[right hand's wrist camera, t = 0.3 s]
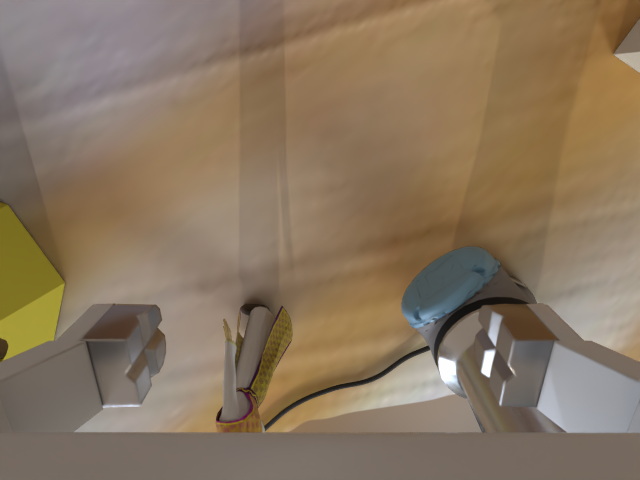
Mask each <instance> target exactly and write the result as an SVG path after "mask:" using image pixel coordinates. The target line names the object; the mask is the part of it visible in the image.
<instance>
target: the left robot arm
mask: <svg viewBox="0 0 640 480" xmlns="http://www.w3.org/2000/svg"><path fill="white" fill-rule="evenodd" d="M511 304H537V302H536V300H535V297H534V296H533V294H532V293H531V291H530V290H529V288H528V287H527V286H526V285H525V284H523V283H522V282H520V281H519V280H518V279H516V278H514V277H512V276H510V275H508V274H507V273H506V272H505V271H504V270H503V268H502V267H501V266H500V262H499V260H497V259H495V258H493V257H492V256H491V254H490V253H489V252H488V251H486V250H485V249H483V248H481V247H476V246H468V247H462V248H459V249H457V250H453V251H451V252H448V253H446V254H445V255H443V256H441V257H439V258H438V259H436V260H435V261H433V262H432V263H431V264H429V265H428V266H427V267H426V268H424V269H423V270H422V271H421V272H420V273H419V274H418V275H417V276H416V277H415V278H414V280H413V281H412V283H411V284H410V285H409V286H408V288H407V290H406V291H405V293H404V296H403V299H402V304H401V308H402V312H403V315H404V316H405V317H406V319H407V320H408V321H409V325H410V326H411V327H413V328H416V329H417V330H418V331H419V332H420V334H421V335H422V336H423V337H424V339H425V340H426V342H427V343H428V346H426V347H424V348H421V349H418V350H416V351H414V352H411V353H409V354H407V355H405V356H404V357H402V358H400V359H399V360H398V361H396V362H395V363H393V364H392V365H391V366H389V367H388V368H387V369H385V370H384V371H382V372H381V373H379V374H377V375H375V376H373V377H370V378H368V379H364V380H361V381H356V382H351V383H345V384H340V385H336V386H333V387H330V388H327V389H324V390H321V391H318V392H316V393H313V394H311V395H308V396H306V397H304V398H302V399H300V400H298V401H296V402H295V403H293V404H291V405H290V406H288V407H287V408H285V409H284V410H283V411H281V412H280V413H279V414H278V415H276V416H275V417H274V418H273V419H272V420H271V421H270V422H269V423H268V424H266V425H265V426H264V428H265V431H266V430H267V429H268V428H269V427H270V426H271V425H273V424H274V423H275V422H276V421H277V420H278V419H279V418H280V417H282V416H283V415H284V414H285V413H287V412H288V411H290V410H291V409H293V408H294V407H296V406H298V405H300V404H302V403H304V402H306V401H308V400H310V399H312V398H315V397H317V396H320V395H323V394H326V393H329V392H332V391H335V390H339V389H343V388H348V387H354V386H359V385H363V384H367V383H370V382H372V381H375V380H377V379H379V378H381V377H383V376H384V375H386V374H387V373H389V372H390V371H392V370H393V369H394V368H396V367H397V366H398V365H400V364H401V363H403V362H404V361H406V360H408V359H410V358H411V357H414V356H416V355H418V354H421V353H424V352H426V351H429V350H431V352H432V355H433V358H434V360H435V363H436V365H437V367H438V370H439V373H440V375H441V378H442V379H443V381H444V383H445V384H446V385H447V386H448V388H449V389H451V390H452V391H453V392H454V393H456V394H457V395H459V396H461V397H463V398H465V399H468V401H469V403H470V406H471V408H472V410H473V413H474V415H475V417H476V419H477V422H478V424H479V426H480V429H481V431H482V433H488V432H566V431H565V430H563V429H562V428H561V427H560V426H558V425H557V424H556V423H554V422H553V421H552V420H551V419H549V418H548V417H547V416H545V415H544V414H543V413H542V412H540V411H539V410H538V409H537V407H515V406H499V404H498V402H497V400H496V399H495V397H494V395H493V393H492V391H491V390H490V388H489V386H488V383H489V377H487V376H486V375H484V374H483V373H481V372H480V370H479V368H478V366H477V363H476V360H475V355H474V341H475V335H476V334H477V333H478V332H479V331H480V330H481V329H482V328H483V327H482V326H481V324H480V322H479V321H478V317H479V311H480V309H481V307H482V305H511Z"/></svg>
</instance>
